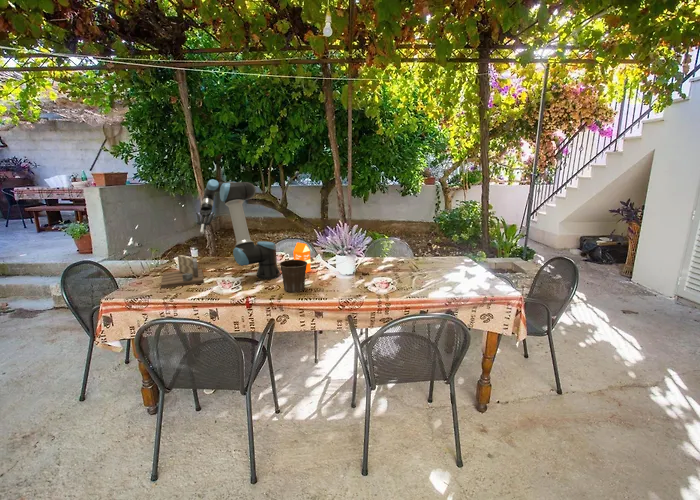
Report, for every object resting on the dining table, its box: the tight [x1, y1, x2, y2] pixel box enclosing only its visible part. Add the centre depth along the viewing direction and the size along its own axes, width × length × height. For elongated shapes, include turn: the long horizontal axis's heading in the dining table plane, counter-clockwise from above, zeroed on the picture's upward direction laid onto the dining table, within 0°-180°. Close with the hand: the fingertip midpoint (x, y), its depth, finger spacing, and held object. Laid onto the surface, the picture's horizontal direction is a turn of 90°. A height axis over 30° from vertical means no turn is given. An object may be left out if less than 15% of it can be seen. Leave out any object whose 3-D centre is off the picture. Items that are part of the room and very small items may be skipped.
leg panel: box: [177, 254, 194, 276], centre depth 241 cm, size 17×2×11 cm, turn 54°
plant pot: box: [279, 259, 307, 293], centre depth 217 cm, size 16×16×16 cm
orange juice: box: [292, 242, 312, 274], centre depth 253 cm, size 8×9×20 cm
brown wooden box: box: [160, 257, 205, 289], centre depth 236 cm, size 28×24×14 cm
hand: (201, 232), depth 256 cm, fingers closed
